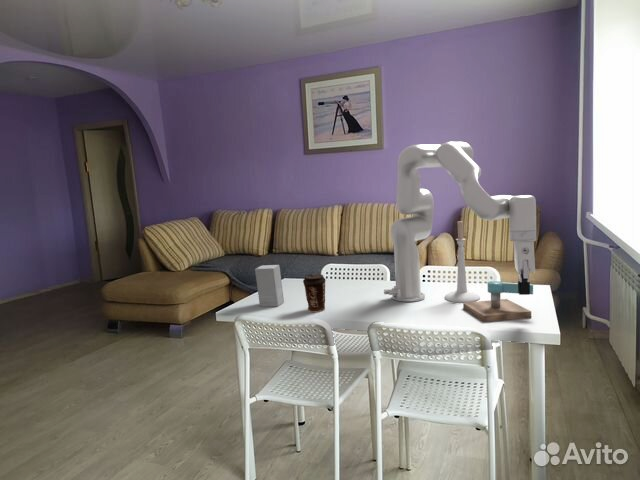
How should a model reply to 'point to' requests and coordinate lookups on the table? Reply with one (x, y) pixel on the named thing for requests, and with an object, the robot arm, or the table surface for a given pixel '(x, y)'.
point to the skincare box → (269, 285)
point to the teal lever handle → (504, 287)
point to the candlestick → (461, 275)
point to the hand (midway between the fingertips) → (524, 293)
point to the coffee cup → (315, 292)
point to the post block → (496, 309)
